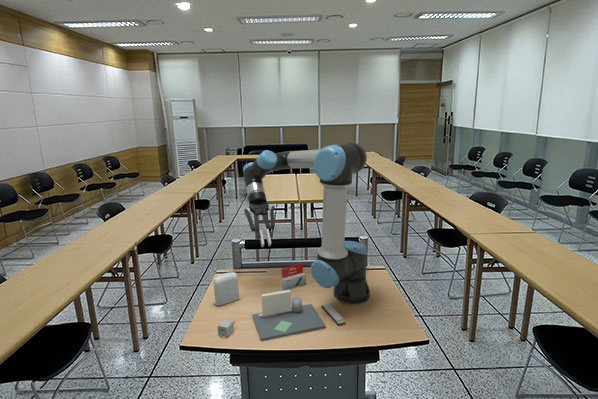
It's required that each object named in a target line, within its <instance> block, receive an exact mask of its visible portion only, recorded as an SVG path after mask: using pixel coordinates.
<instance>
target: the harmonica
mask: <svg viewBox="0 0 598 399" xmlns="http://www.w3.org/2000/svg"><path fill="white" fill-rule="evenodd" d="M320 307H321V309H322V310H323V311H324V312H325V314H327V315H328V316H329V318H330V319H331V320H332V321H333V323H334V324H336V326H337V327H340V326H344V325H346V321H345V320H344V317H343V316H341V314H340V313H339V312H338V311H337V310H336V309H335V308H334V307H333V306H332V304H330V303H324V304H321V306H320Z"/></svg>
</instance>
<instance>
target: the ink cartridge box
mask: <svg viewBox="0 0 598 399" xmlns="http://www.w3.org/2000/svg"><path fill="white" fill-rule="evenodd" d="M303 265H304V264H303V262H301V263H298V264H293V265H289V266H286V267H282V268H281V289H282V291H285V290H291V289H295V288H298V286H299V287H301V286H305V285H306V283H307V282H306V281H307V280H306V277H307V276H306V273H304V266H303ZM292 268H294V269H292Z"/></svg>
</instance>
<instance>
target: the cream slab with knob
mask: <svg viewBox="0 0 598 399" xmlns="http://www.w3.org/2000/svg"><path fill="white" fill-rule="evenodd" d="M291 293H292V292H291V289H288V290H285V291H284V290H281V291H280V290H279V291H274V292H269V293H262V294H261V310H262V311H261V313H262V314H259V317H262V316H267V315H273V314H278V313H284V312H289V311H293V312H300V311H302V305H303V299H302V298H301V297H292V294H291ZM291 307H292V308H291Z"/></svg>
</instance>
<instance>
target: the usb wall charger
mask: <svg viewBox="0 0 598 399" xmlns="http://www.w3.org/2000/svg"><path fill="white" fill-rule="evenodd" d="M235 323H236V321H234V320H231V319H226V318H225V319H223V320H222V321H221V323H219V324H218V325H217V335H218V336H219V337H223V338H228V337H229V336H230V334H232V332H233V331H234V330H235V325H234V324H235Z"/></svg>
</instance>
